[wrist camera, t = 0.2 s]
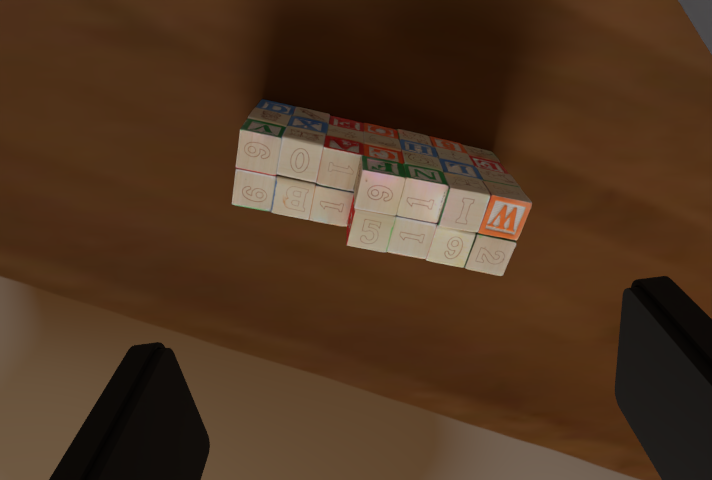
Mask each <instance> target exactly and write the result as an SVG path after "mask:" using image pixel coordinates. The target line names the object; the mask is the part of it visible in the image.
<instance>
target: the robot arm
mask: <svg viewBox="0 0 712 480" xmlns="http://www.w3.org/2000/svg"><path fill="white" fill-rule="evenodd" d="M615 396H616V400H617V403H618V405H619V407H620V409H621V411H622V413H623V414H624V416H625V418H626V420H627V421H628V423H629V425H630V426H631V428H632V430H633V431H634V433H635V435H636V436H637V438H638V440H639V441H640V443H641V445H642V447H643V448H644V450H645V452H646V453H647V455H648V457H649V458H650V460H651V462H652V463H653V465H654V467H655V468H656V470H657V472H658V474H659V475H660V477H661V479H662V480H712V319H711V318H710V317H709V316H708V315H707V314H706V313H705V312H704V311H703V310H702V309H701V308H700V307H699V306H698V305H697V304H696V303H695V302H694V301H693V300H692V299H691V298H690V297H689V296H688V295H687V294H686V293H685V292H684V291H683V290H682V289H681V288H680V287H679V286H677V285H676V284H675V283H674V282H673V281H672V280H671V279H670V278H669V277H666V276H661V277H653V278H646V279H638V280H635V281H633V283H632V286H631V288H627V289H625V290H624V292H623V299H622V311H621V322H620V334H619V346H618V357H617V369H616V381H615ZM209 443H210V442H209V437H208V434H207V431H206V429H205V427H204V424H203V422H202V419H201V417H200V414H199V412H198V410H197V407H196V405H195V403H194V400H193V398H192V395H191V393H190V391H189V388H188V386H187V383H186V381H185V379H184V376H183V374H182V371H181V369H180V366H179V364H178V362H177V360H176V357H175V354H174V352H173V351H172V350H171V349H170V348H165V347H164V345H163V344H162V343H158V342H157V343H149V344H142V345H134V346H132V347H131V348H130V349H129V350H128V352H127V353H126V355H125V357H124V358H123V360H122V361H121V363H120V365H119V366H118V368H117V370H116V371H115V373H114V375H113V376H112V378H111V380H110V381H109V383H108V384H107V386H106V388H105V389H104V391H103V393H102V394H101V396H100V397H99V399H98V401H97V402H96V404H95V406H94V407H93V409H92V410H91V412H90V414H89V416H88V417H87V419H86V420H85V422H84V424H83V425H82V427H81V428H80V430H79V432H78V433H77V435H76V437H75V438H74V440H73V442H72V443H71V445H70V447H69V448H68V450H67V451H66V453H65V455H64V456H63V458H62V459H61V461H60V463H59V464H58V466H57V468H56V469H55V471H54V473H53V474H52V476H51V477H50V479H49V480H201V476H202V473H203V470H204V467H205V464H206V461H207V457H208V454H209V448H210V444H209Z"/></svg>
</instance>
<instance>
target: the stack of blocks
mask: <svg viewBox="0 0 712 480" xmlns="http://www.w3.org/2000/svg"><path fill="white" fill-rule="evenodd" d="M232 204H233V205H236V206H242V207H247V208H253V209H257V210H263V211H271V212H272V213H275V214H281V215H285V216H290V217H296V218H301V219H306V220H308V219H309V220H311V221H315V222H320V223H326V224H332V225H337V226H347V242H346V244H347V245H348V246H352V247H358V248H363V249H369V250H374V251H379V252H389V253H394V254H399V255H404V256H410V257H415V258H420V259H425V260H427V261H431V262H436V263H441V264H446V265H451V266H457V267H465V268H466V269H468V270H473V271H478V272H483V273H488V274H493V275H497V276H502V275H503V274H504V271H505V269H506V266H507V264H508V262H509V259H510V257H511V255H512V252H513V250H514V248H515V246H516V241H515V240H517V239H518V237H519V236H520V233H521V231H522V228H523V226H524V223H525V221H526V219H527V216H528V214H529V211H530V209H531V206H532V202H531V201H530V200H529V198H528V197H527V196H526V195H525V193H524V192H523V191H522V190H521V188H520V186H519V185H518V184H517V182H516V181H515V180H514V178H513V177H512V176H511V175H510V174H509V173H508V172H507V171H506V169H505V168H504V167H503V166H502V165H501V164H500V161H499V159H498V158H497V157H496V156H495V155H494V153H493V152H491V151H487V150H483V149H479V148H474V147H470V146H466V145H462V144H460V143H457V142H453V141H449V140H444V139H440V138H436V137H431V136H427V135H423V134H419V133H415V132H410V131H406V130H401V129H396V130H395V129H391V128H386V127H382V126H378V125H373V124H369V123H361V122H357V121H353V120H349V119H344V118H340V117H335V116H330V114H328V113H323V112H319V111H315V110H310V109H306V108H302V107H294V106H291V105H287V104H283V103H278V102H273V101H269V100H264V99H262V100H261V101H260V102H259V103H258V105H257V106H256V107H255V108H254V109H253V111H252V112H251V113H250V114H249V116H248V119H247V120H246V121H245V123H244V124H243V126H242V127H241V129H240V135H239V143H238V152H237V160H236V173H235V181H234V190H233V198H232Z"/></svg>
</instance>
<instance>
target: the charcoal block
mask: <svg viewBox="0 0 712 480" xmlns="http://www.w3.org/2000/svg"><path fill="white" fill-rule="evenodd" d="M678 1H679V2H680V4H681V6H682V7H683V9H684V10H685V12H686V14H687V15H688V17H689V19H690V20H691V22H692V23H693V25H694V27H695V28H696V30H697V32H698V33H699V35H700V36H701V38H702V40H703V41H704V43H705V45H706V46H707V48H708V49H709V51H710V53H711V54H712V0H678Z"/></svg>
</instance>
